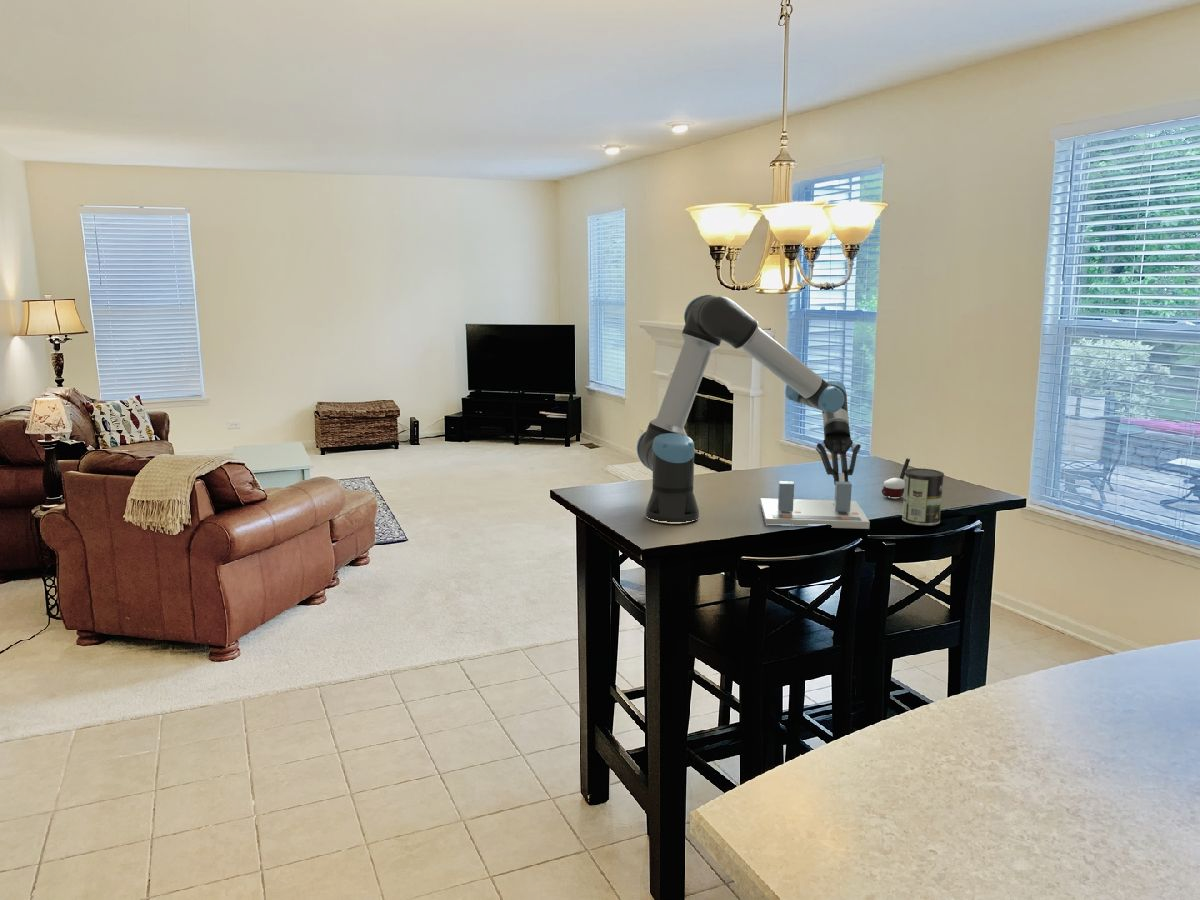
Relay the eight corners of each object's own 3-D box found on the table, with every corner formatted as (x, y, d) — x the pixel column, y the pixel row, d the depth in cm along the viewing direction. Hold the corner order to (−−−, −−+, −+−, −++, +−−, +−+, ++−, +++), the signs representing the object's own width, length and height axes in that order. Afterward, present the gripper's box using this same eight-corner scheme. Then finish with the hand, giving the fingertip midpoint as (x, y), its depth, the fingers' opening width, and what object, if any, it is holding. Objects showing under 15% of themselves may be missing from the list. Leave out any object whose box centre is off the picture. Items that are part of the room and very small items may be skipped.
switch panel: (765, 525, 241) (765, 518, 241) (760, 504, 263) (760, 497, 262) (869, 528, 238) (869, 521, 238) (855, 507, 260) (855, 500, 259)
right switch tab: (835, 511, 246) (837, 483, 245) (833, 508, 249) (835, 481, 248) (850, 511, 246) (851, 484, 244) (848, 508, 249) (849, 481, 247)
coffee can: (936, 516, 250) (940, 468, 247) (943, 526, 240) (947, 477, 237) (899, 514, 252) (902, 467, 249) (904, 524, 242) (907, 475, 239)
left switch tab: (778, 510, 247) (779, 483, 245) (777, 508, 250) (778, 481, 248) (792, 511, 246) (794, 484, 245) (791, 508, 249) (793, 481, 247)
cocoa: (882, 501, 268) (884, 463, 265) (876, 495, 274) (877, 458, 271) (913, 500, 268) (915, 462, 265) (906, 494, 274) (908, 457, 271)
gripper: (856, 434, 265) (863, 501, 252) (812, 433, 266) (817, 500, 253) (860, 420, 258) (868, 488, 245) (816, 419, 260) (820, 487, 247)
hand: (842, 494), depth 249 cm, fingers closed
